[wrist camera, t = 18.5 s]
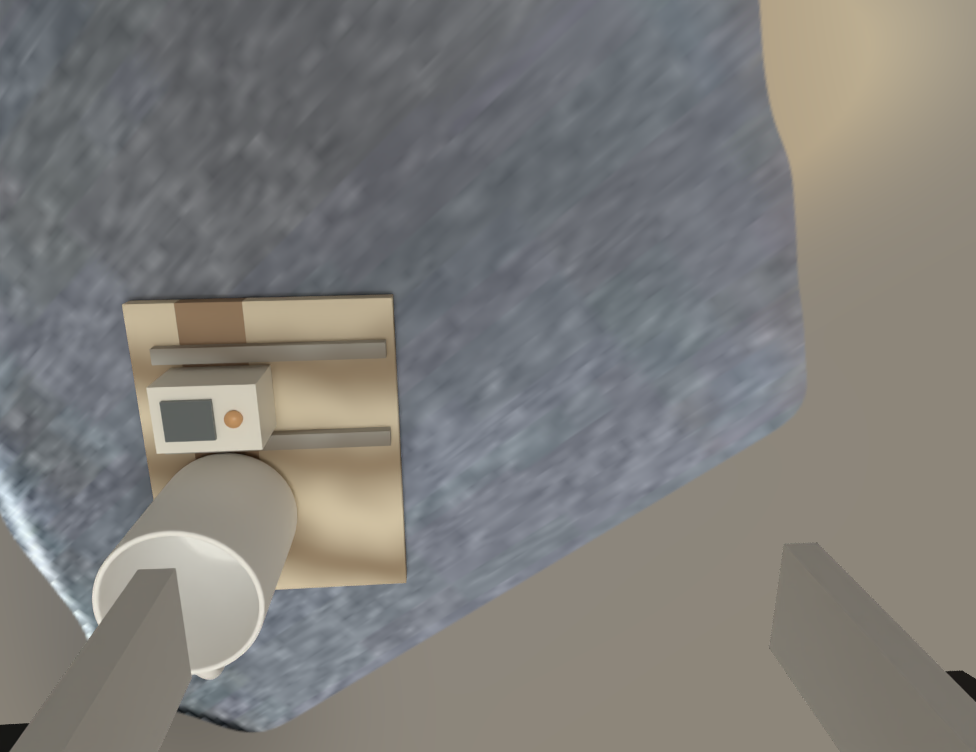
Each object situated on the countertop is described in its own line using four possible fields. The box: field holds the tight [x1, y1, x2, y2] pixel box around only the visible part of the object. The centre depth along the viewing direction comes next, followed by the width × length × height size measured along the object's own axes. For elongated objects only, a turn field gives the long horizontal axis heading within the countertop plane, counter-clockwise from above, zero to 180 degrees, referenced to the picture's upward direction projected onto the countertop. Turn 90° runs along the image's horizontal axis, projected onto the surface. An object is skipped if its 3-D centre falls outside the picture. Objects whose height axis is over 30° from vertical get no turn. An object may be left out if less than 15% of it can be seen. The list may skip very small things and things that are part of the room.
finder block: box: [146, 365, 277, 454], centre depth 43 cm, size 4×6×4 cm, turn 90°
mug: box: [92, 453, 297, 679], centre depth 42 cm, size 9×12×11 cm
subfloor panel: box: [122, 294, 407, 590], centre depth 46 cm, size 20×16×2 cm
